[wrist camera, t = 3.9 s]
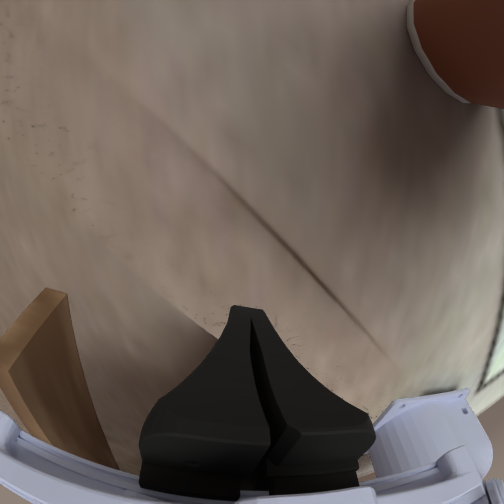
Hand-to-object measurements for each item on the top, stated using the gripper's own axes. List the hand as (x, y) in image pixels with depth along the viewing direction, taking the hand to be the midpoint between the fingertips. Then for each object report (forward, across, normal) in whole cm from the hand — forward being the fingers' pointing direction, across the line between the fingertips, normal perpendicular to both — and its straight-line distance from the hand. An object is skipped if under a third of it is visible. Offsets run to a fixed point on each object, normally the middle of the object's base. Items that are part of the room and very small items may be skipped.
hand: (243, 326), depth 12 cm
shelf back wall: (+1, +10, +16) cm, 19 cm away
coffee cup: (+2, -7, -16) cm, 17 cm away
